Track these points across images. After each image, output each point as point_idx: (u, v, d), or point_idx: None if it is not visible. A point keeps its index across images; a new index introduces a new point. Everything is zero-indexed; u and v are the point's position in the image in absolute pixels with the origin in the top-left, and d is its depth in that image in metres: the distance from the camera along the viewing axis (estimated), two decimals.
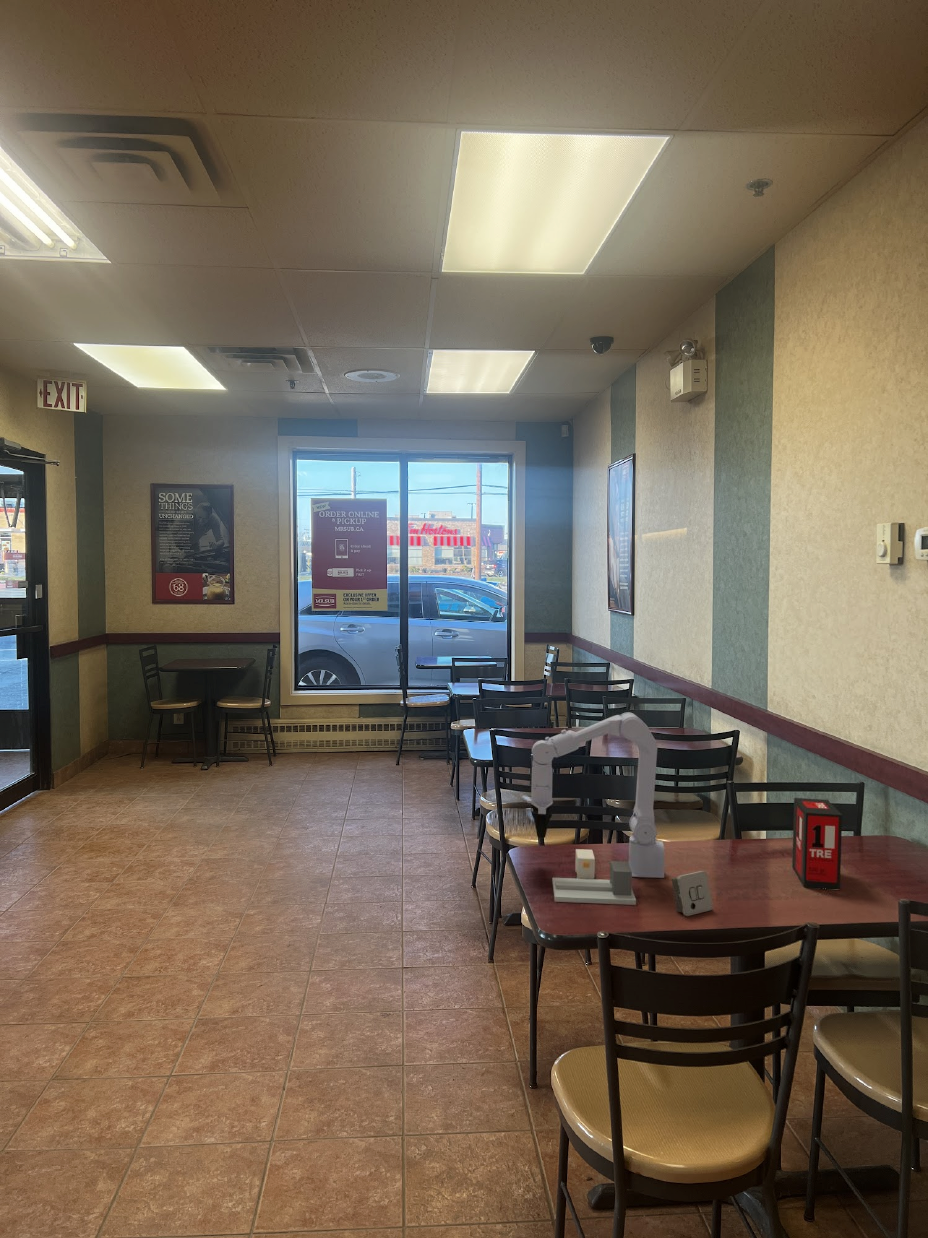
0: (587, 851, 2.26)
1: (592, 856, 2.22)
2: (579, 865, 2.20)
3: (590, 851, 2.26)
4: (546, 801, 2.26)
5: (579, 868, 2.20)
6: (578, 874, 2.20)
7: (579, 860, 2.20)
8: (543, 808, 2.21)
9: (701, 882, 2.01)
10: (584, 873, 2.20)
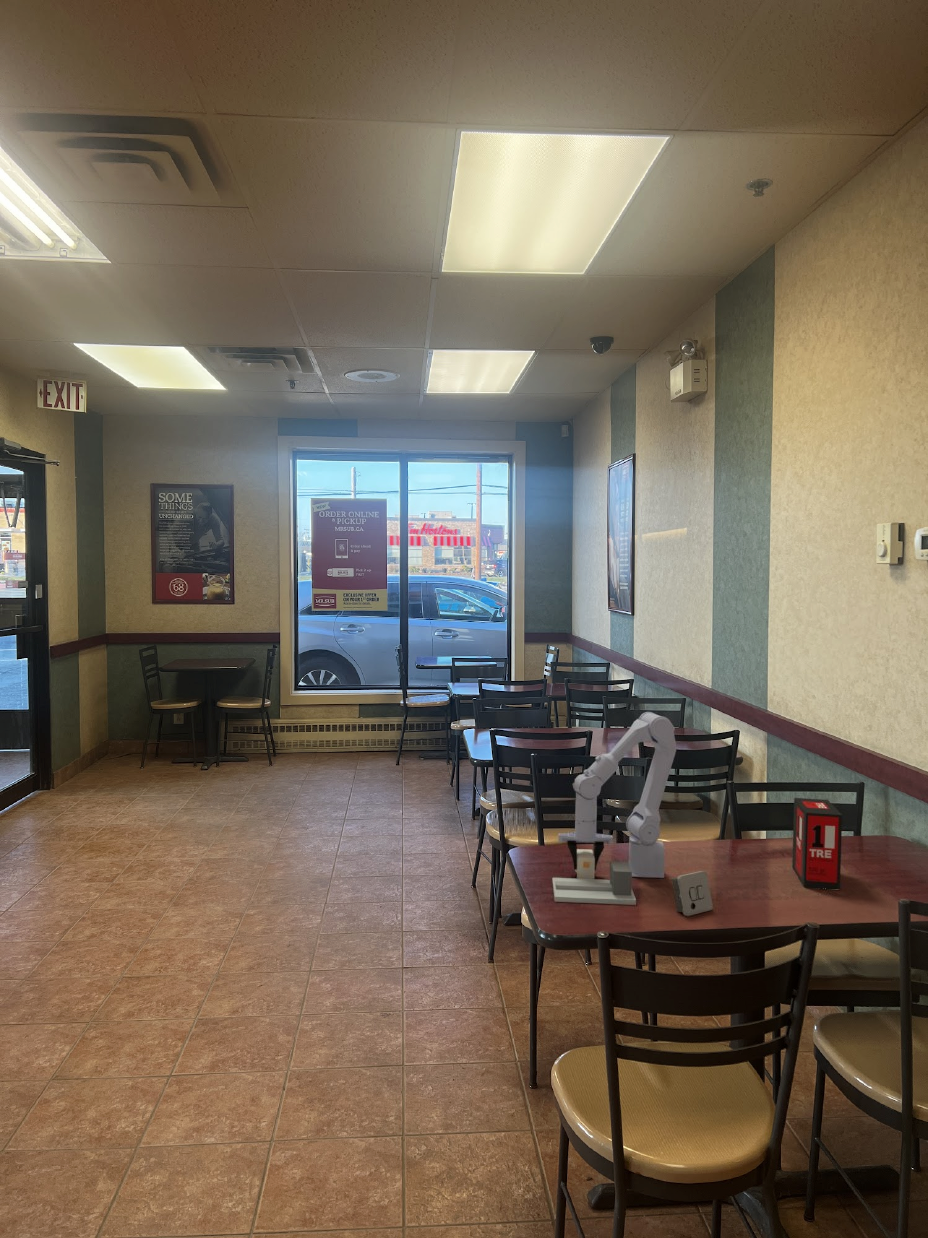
0: (587, 851, 2.26)
1: (592, 856, 2.22)
2: (579, 865, 2.20)
3: (590, 851, 2.26)
4: (576, 834, 2.23)
5: (579, 868, 2.20)
6: (578, 874, 2.20)
7: (579, 860, 2.20)
8: None
9: (702, 882, 2.01)
10: (584, 873, 2.20)
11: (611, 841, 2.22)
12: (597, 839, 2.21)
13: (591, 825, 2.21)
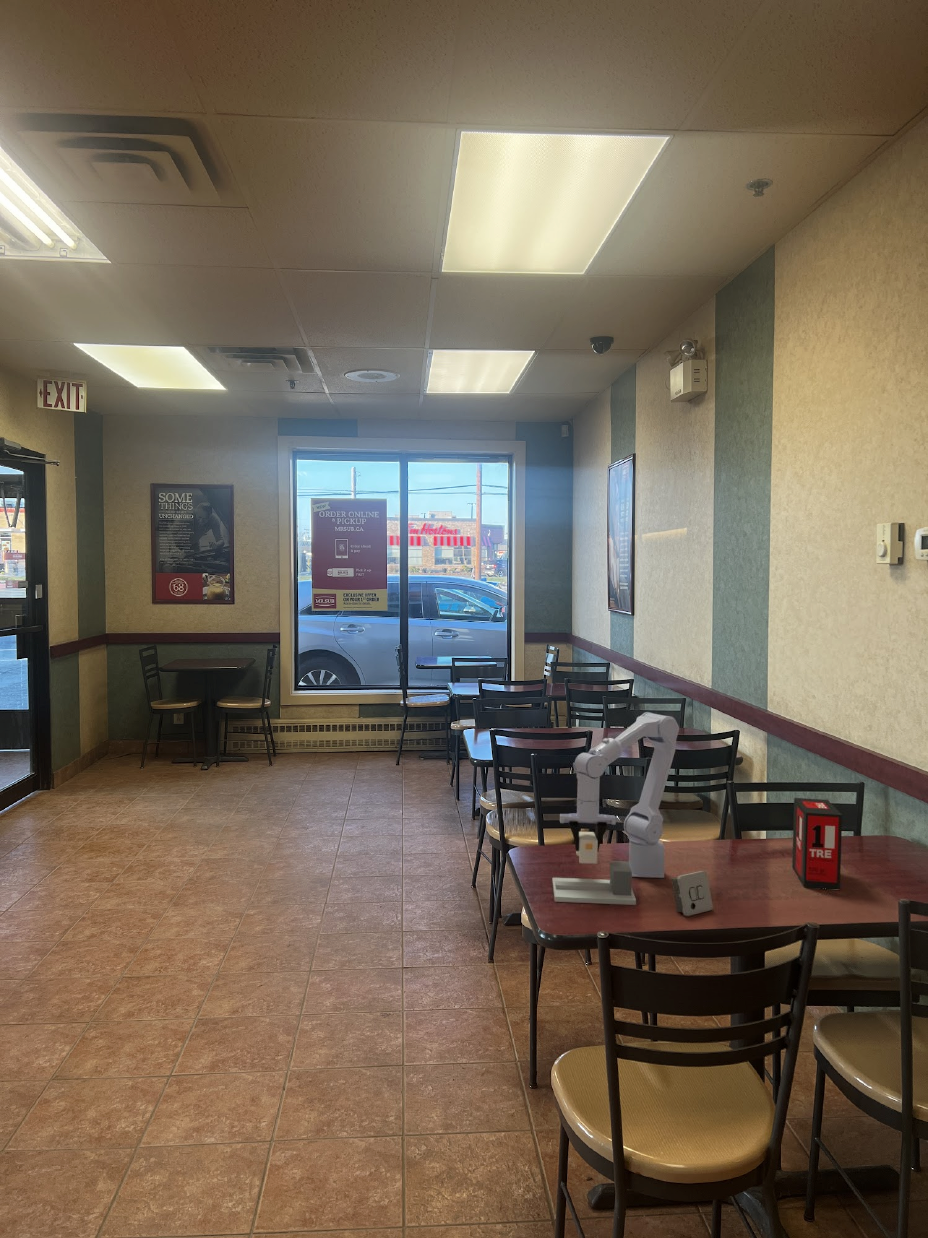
0: (589, 833, 2.20)
1: (594, 838, 2.16)
2: (581, 847, 2.14)
3: (592, 833, 2.20)
4: (578, 815, 2.16)
5: (581, 850, 2.14)
6: (580, 856, 2.14)
7: (581, 842, 2.14)
8: (560, 816, 2.17)
9: (701, 882, 2.01)
10: (587, 855, 2.14)
11: (614, 821, 2.16)
12: (600, 819, 2.15)
13: (594, 805, 2.15)
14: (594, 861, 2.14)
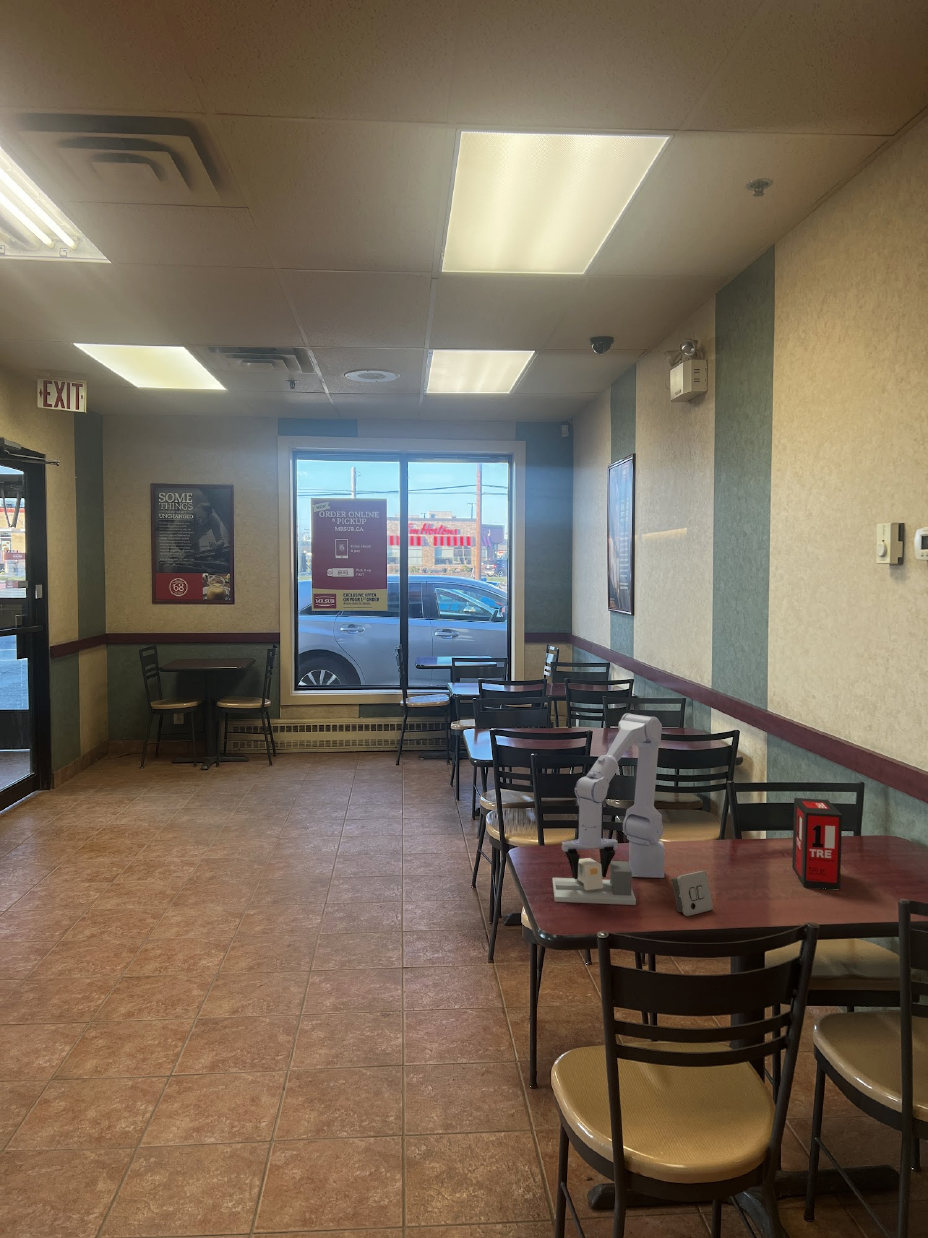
0: (586, 859, 2.14)
1: (595, 862, 2.10)
2: (586, 873, 2.07)
3: (589, 859, 2.14)
4: (582, 842, 2.09)
5: (587, 876, 2.07)
6: (586, 883, 2.07)
7: (586, 867, 2.07)
8: (563, 844, 2.09)
9: (701, 882, 2.01)
10: (592, 881, 2.07)
11: (616, 845, 2.11)
12: (604, 844, 2.09)
13: (598, 830, 2.08)
14: (600, 886, 2.08)
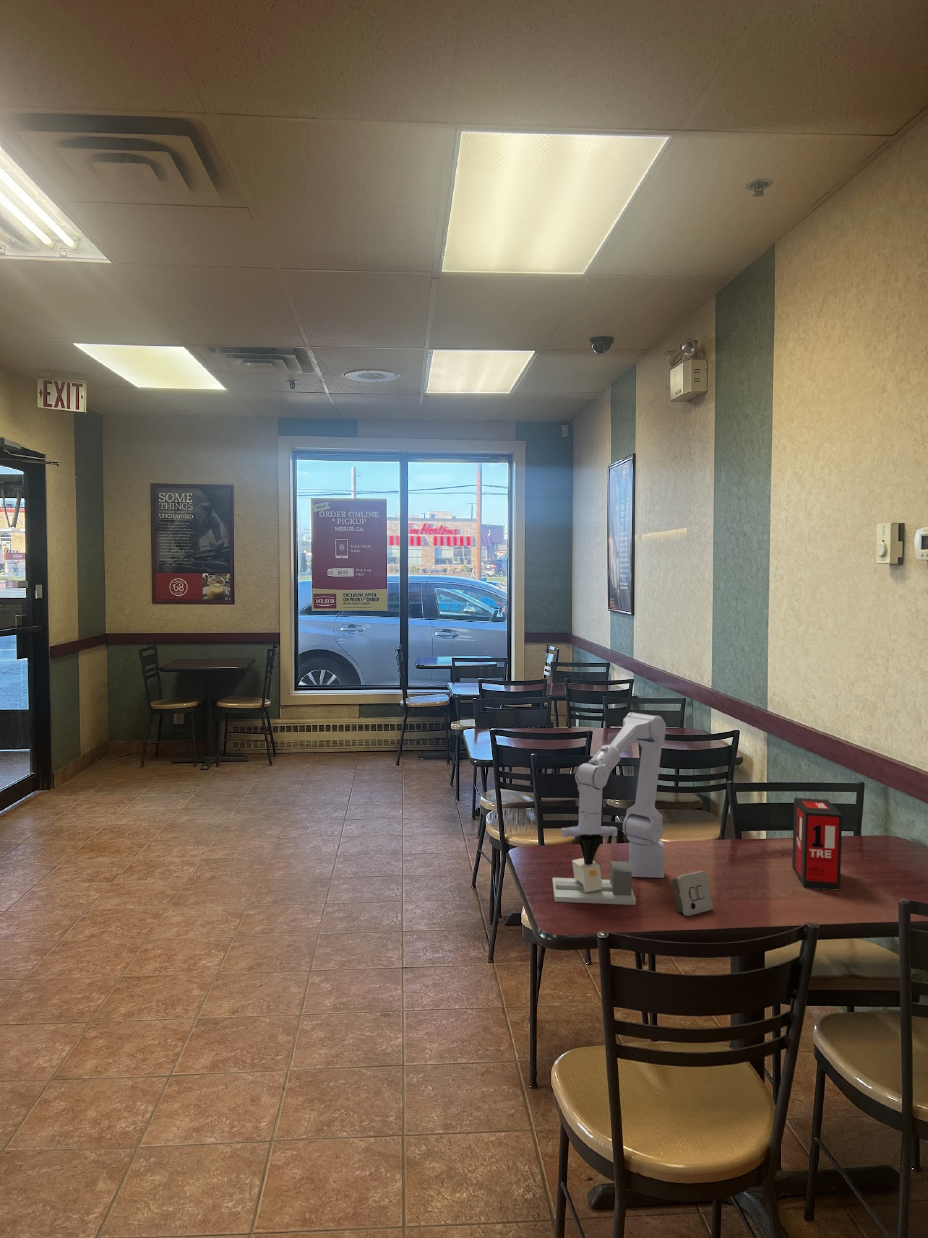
0: None
1: (594, 863, 2.10)
2: (585, 875, 2.07)
3: None
4: (581, 828, 2.09)
5: (586, 878, 2.07)
6: (586, 885, 2.07)
7: (584, 870, 2.07)
8: (563, 830, 2.08)
9: (701, 882, 2.01)
10: (591, 882, 2.07)
11: (616, 833, 2.11)
12: (603, 831, 2.09)
13: (598, 817, 2.08)
14: (599, 887, 2.08)
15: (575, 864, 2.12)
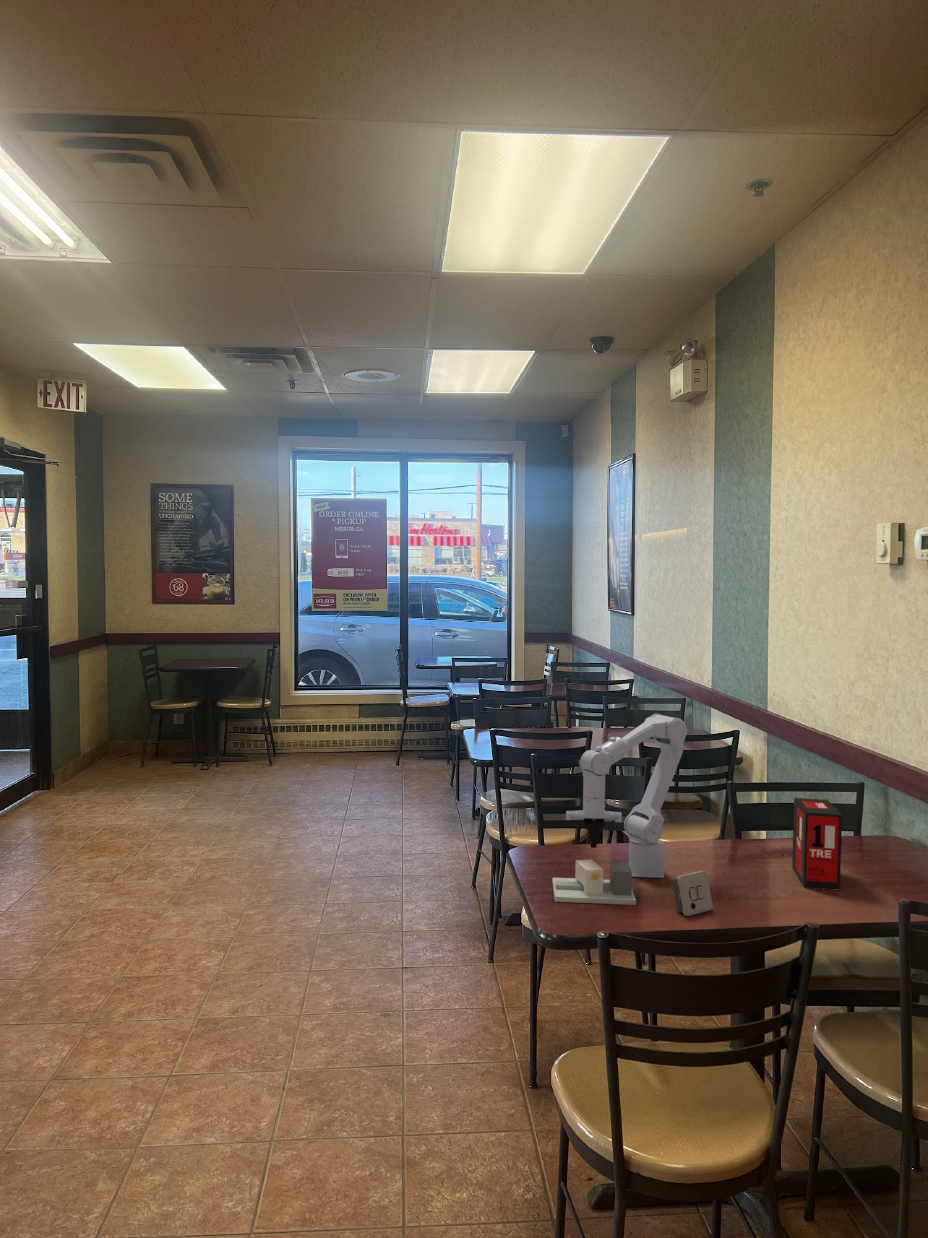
0: (589, 861, 2.14)
1: (598, 866, 2.10)
2: (588, 877, 2.07)
3: (592, 861, 2.14)
4: (584, 812, 2.18)
5: (588, 881, 2.07)
6: (587, 887, 2.07)
7: (588, 872, 2.07)
8: (566, 813, 2.19)
9: (701, 882, 2.01)
10: (593, 885, 2.07)
11: (620, 818, 2.18)
12: (606, 816, 2.17)
13: (600, 802, 2.17)
14: (600, 891, 2.08)
15: (578, 864, 2.12)
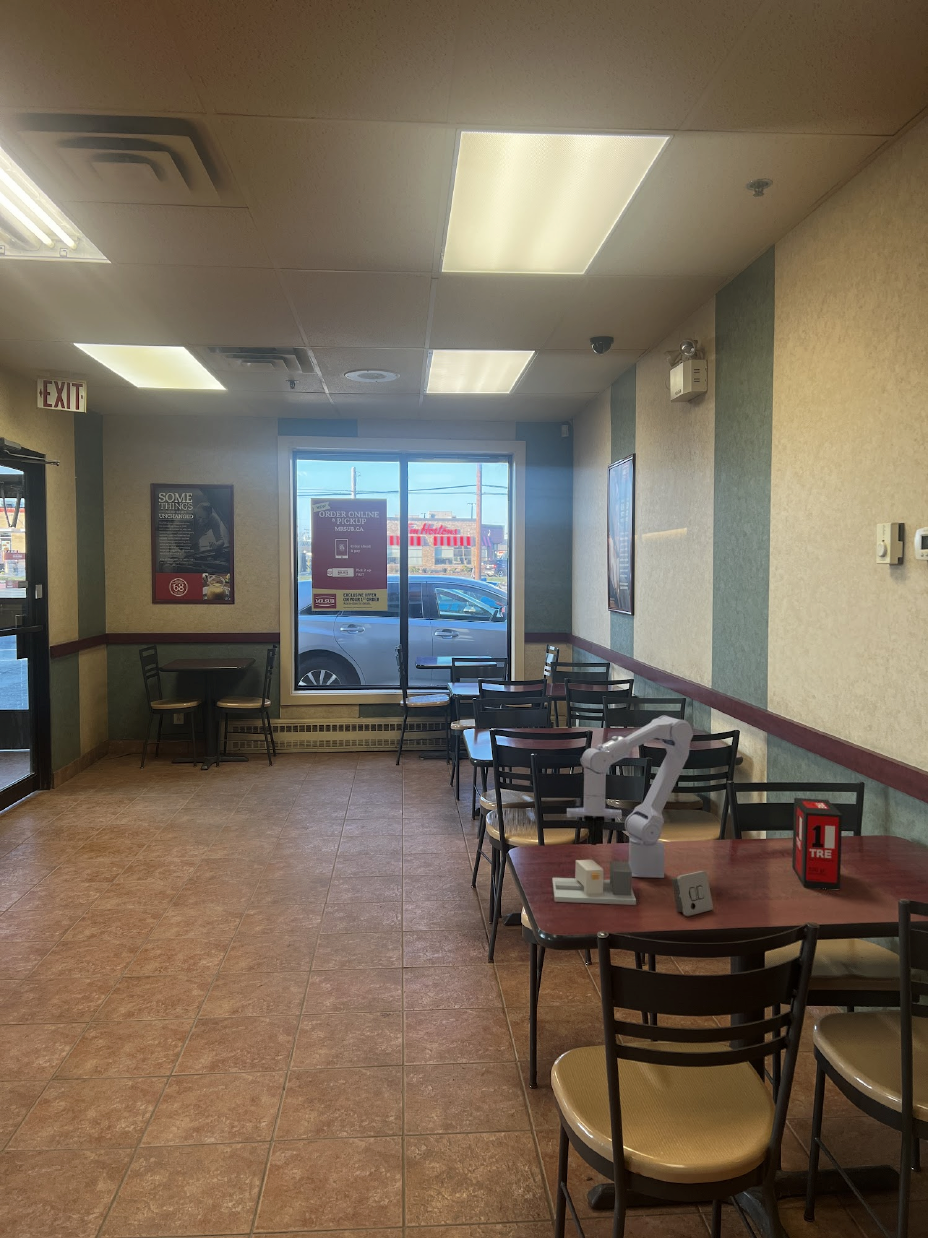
0: (589, 861, 2.14)
1: (598, 866, 2.10)
2: (588, 877, 2.07)
3: (592, 861, 2.14)
4: (584, 809, 2.20)
5: (588, 881, 2.07)
6: (587, 887, 2.07)
7: (588, 872, 2.07)
8: (567, 811, 2.21)
9: (701, 882, 2.01)
10: (593, 885, 2.07)
11: (620, 816, 2.20)
12: (606, 814, 2.19)
13: (600, 799, 2.19)
14: (600, 891, 2.08)
15: (578, 864, 2.12)
